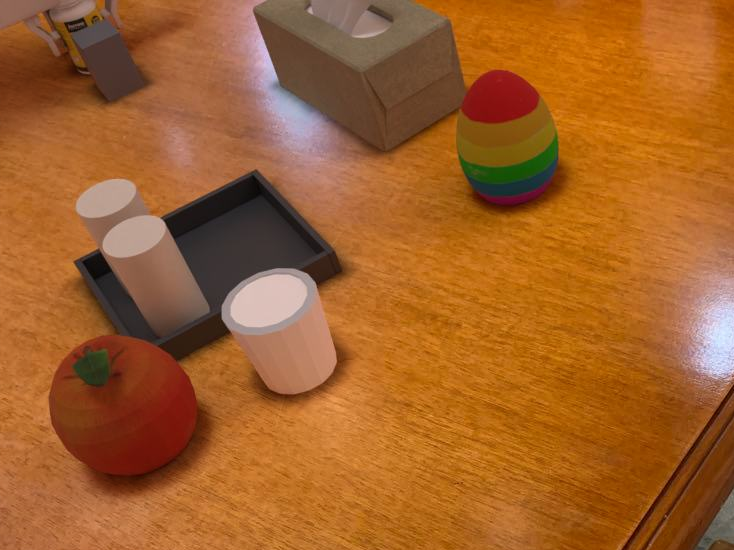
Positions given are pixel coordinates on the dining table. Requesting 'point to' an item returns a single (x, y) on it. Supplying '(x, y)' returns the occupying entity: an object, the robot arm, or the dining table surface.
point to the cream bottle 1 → (109, 210)
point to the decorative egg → (506, 139)
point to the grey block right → (107, 59)
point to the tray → (219, 257)
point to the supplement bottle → (74, 24)
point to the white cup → (282, 329)
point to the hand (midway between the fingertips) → (88, 40)
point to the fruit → (122, 405)
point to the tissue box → (366, 63)
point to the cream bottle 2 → (155, 273)
